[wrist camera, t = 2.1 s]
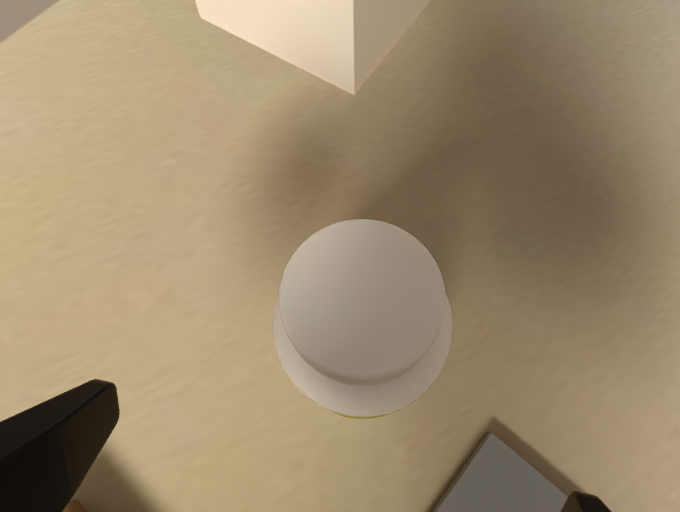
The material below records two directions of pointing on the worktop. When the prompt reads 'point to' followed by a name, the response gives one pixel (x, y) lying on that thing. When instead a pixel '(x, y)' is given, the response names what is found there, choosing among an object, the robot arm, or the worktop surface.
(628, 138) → the worktop surface
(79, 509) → the hole board
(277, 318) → the supplement bottle
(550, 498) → the slate mat
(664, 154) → the worktop surface
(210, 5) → the milk
